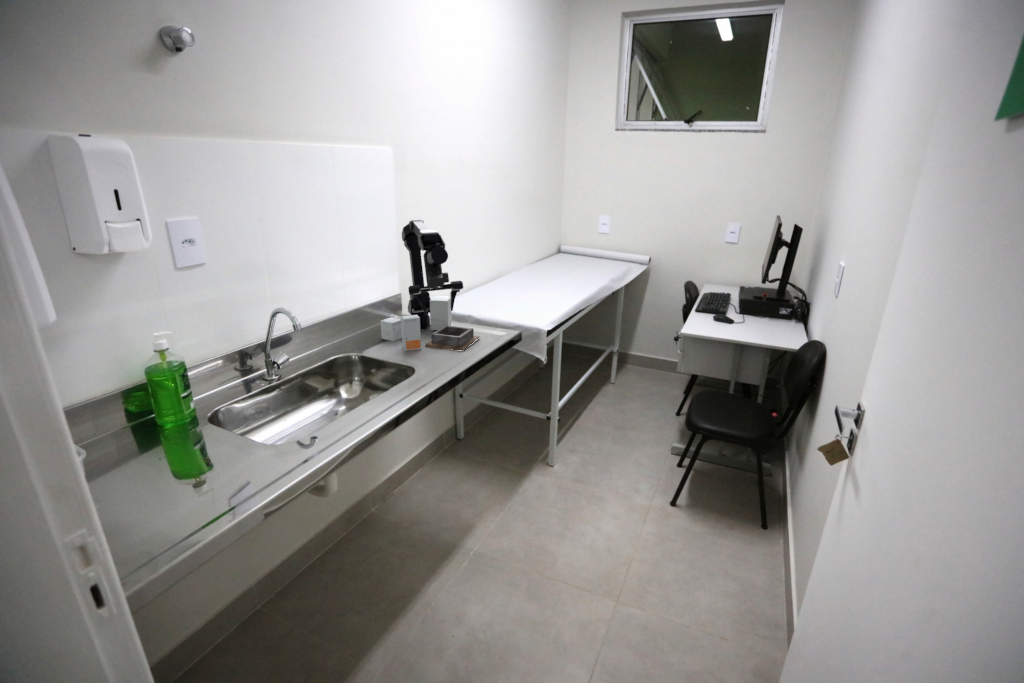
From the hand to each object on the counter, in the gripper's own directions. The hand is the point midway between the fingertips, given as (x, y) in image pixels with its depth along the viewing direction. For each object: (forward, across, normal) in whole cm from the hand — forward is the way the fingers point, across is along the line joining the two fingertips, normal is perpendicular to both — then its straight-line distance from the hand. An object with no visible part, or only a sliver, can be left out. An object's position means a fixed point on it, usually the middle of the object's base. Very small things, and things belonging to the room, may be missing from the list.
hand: (438, 312), depth 177 cm
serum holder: (+12, +4, +10) cm, 16 cm away
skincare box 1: (+8, -17, +20) cm, 27 cm away
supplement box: (+6, +2, +28) cm, 28 cm away
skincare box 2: (+12, -11, +7) cm, 17 cm away
